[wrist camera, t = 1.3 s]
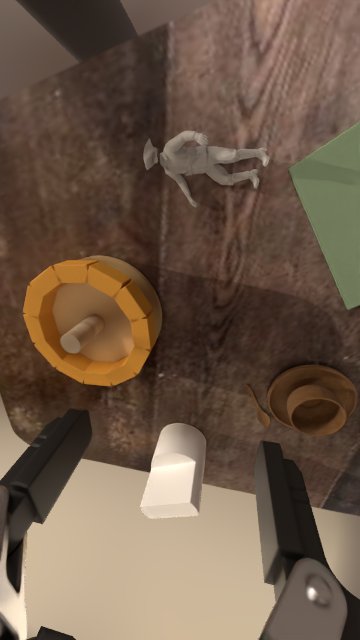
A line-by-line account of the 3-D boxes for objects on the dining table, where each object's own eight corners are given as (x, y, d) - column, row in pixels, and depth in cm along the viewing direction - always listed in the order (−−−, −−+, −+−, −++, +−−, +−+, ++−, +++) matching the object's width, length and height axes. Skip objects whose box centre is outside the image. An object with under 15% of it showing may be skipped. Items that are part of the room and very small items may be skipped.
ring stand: (37, 291, 38) (-22, 316, 29) (116, 231, 31) (71, 239, 23) (103, 372, 42) (69, 415, 33) (183, 333, 36) (168, 373, 27)
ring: (16, 299, 34) (-1, 306, 32) (101, 232, 28) (89, 234, 25) (92, 387, 39) (82, 399, 36) (179, 346, 32) (175, 358, 30)
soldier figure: (249, 210, 29) (148, 214, 27) (240, 180, 30) (145, 182, 29) (279, 143, 21) (143, 144, 20) (266, 108, 23) (139, 106, 22)
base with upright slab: (173, 459, 48) (157, 530, 38) (152, 427, 46) (128, 494, 35) (214, 452, 45) (209, 527, 35) (194, 418, 43) (182, 488, 32)
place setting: (363, 341, 31) (390, 368, 26) (397, 445, 37) (425, 484, 32) (238, 379, 38) (239, 407, 32) (283, 463, 43) (290, 498, 38)
